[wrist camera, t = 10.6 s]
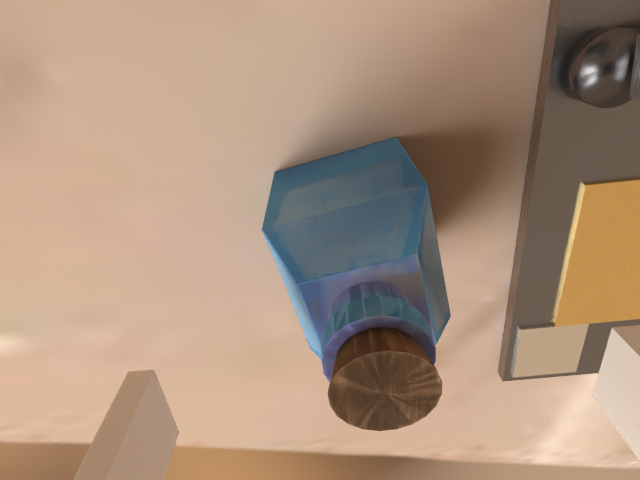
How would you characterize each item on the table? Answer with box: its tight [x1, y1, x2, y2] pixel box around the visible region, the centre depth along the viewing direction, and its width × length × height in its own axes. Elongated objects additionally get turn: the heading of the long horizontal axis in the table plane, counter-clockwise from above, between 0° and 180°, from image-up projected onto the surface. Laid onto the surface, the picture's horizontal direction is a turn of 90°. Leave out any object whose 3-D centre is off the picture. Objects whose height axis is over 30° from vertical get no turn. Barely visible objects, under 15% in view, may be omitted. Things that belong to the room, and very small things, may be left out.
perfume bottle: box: [262, 137, 451, 431], centre depth 17 cm, size 6×6×12 cm
